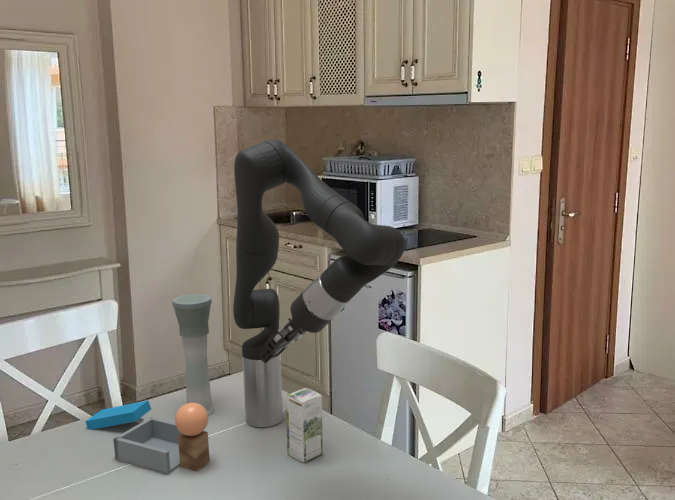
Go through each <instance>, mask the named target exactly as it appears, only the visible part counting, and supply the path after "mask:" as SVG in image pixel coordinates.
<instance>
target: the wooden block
mask: <svg viewBox="0 0 675 500" xmlns="http://www.w3.org/2000/svg"><path fill="white" fill-rule="evenodd" d="M178 445H179V457H180V466H179V467H181V468H184V469H188V470H190V471H191V470H192V471H195V472H198V471H199V470H200V469H201V468H203V467H204V466H206V465H207V464H208V463H210V461H211V459H210V445H209V432H208V431H206V430H204V431H203V432H201V433H200V434H198V435H195V436H187V435H184V434H181V435H180V436H178Z"/></svg>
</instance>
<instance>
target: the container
mask: <svg viewBox="0 0 675 500" xmlns="http://www.w3.org/2000/svg"><path fill="white" fill-rule="evenodd" d="M212 300H213V299H212V296H211V295H208V294H202V293H194V294H193V293H190V294H183V295H179V296H177V297H175V298H173V299H172V301H171V302H172V307H173V309H174V313H175V316H176V319H177V323H178V326H179V328H178V331H179V336H180V337H181V341H182V346H183V351H184V352H183V353H184V358H185V379H186V380H185V384H186V385H185V386H186V389H185V390H186V393H185V394H186V404H187V403H198V404H200V405H202V406H203V407H204V408H205V409H206V411H207V413H208V417H209V416H211V415H212V414H214V412H215V408H214V406H213V399H212V390H211V384H210V382H211V381H210V375H209V374H210V373H209V365H208V364H209V363H208V335H209V333H210V329H209V319H210V318H209V317H210V311H211V306H212V304H213V303H212V302H213V301H212Z"/></svg>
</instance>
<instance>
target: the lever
mask: <svg viewBox="0 0 675 500" xmlns="http://www.w3.org/2000/svg"><path fill="white" fill-rule="evenodd" d="M151 410H152V407H151V404H150V400H144V401H143V400H142V401H139V402H133V403H128V404H124V405H123V404H122V405H119V406H113V407H109V408H103V409H101V410H100V411H98V412H97V413H95V414H93V415H92V416H91V417H89V418H88V419H86V420H85V424H86V427H87V429H88V430H91V431H92V430H97V429H98V430H99V429H103V428H109V427H113V426H118V425H123V424H128V423H133V422H134V423H137V424H140V423H142V422H144V421H145V420H146V419H145V418H142V417H144V416H145V415H146V414H147V413H149V412H150V411H151Z"/></svg>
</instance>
